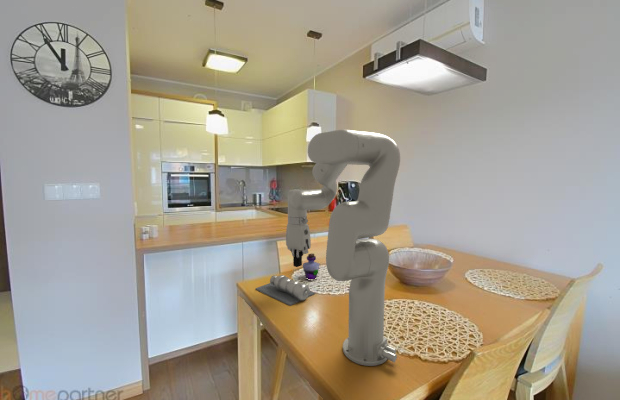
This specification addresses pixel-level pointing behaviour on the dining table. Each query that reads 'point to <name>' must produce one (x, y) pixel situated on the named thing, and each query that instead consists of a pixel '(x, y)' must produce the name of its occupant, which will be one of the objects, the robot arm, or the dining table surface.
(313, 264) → the potion bottle
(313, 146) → the robot arm
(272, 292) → the mat
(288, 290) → the plastic bottle
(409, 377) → the dining table surface
